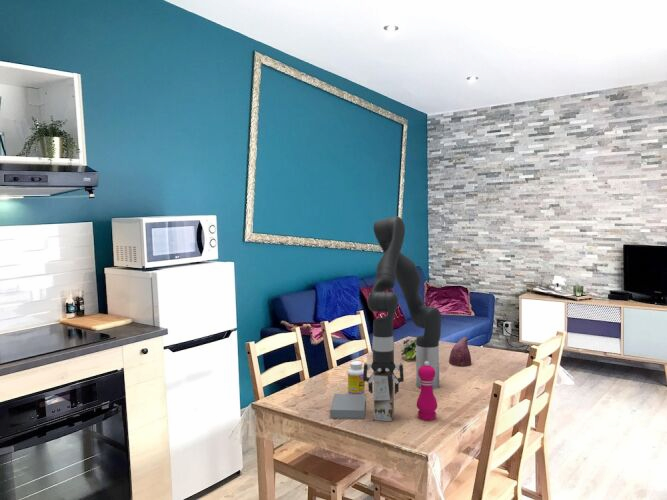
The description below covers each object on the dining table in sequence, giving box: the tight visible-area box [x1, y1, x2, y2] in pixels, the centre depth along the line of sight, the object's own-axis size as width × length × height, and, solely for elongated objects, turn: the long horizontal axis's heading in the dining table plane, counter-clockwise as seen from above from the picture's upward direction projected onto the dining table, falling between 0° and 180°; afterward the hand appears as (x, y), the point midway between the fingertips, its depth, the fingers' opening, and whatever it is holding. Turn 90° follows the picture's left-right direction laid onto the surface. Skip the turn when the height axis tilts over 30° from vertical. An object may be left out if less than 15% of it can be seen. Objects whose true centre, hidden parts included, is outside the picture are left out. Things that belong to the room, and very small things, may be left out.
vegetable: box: [448, 336, 472, 368], centre depth 241 cm, size 10×10×15 cm
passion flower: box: [400, 338, 417, 362], centre depth 251 cm, size 11×11×12 cm
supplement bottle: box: [347, 360, 366, 394], centre depth 202 cm, size 7×7×13 cm
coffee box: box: [373, 371, 395, 422], centre depth 180 cm, size 9×6×16 cm
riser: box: [329, 393, 367, 420], centre depth 187 cm, size 12×16×3 cm
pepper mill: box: [416, 361, 438, 421], centre depth 178 cm, size 7×7×20 cm
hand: (383, 392), depth 180 cm, fingers open, 8 cm apart
